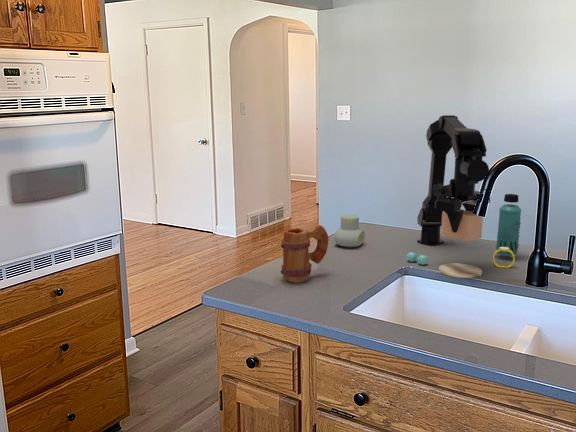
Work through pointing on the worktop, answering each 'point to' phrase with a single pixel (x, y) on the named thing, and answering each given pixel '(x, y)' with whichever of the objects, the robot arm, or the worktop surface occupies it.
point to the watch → (503, 250)
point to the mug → (302, 252)
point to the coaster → (460, 270)
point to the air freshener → (349, 232)
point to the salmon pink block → (463, 227)
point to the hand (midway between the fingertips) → (461, 230)
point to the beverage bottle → (509, 226)
